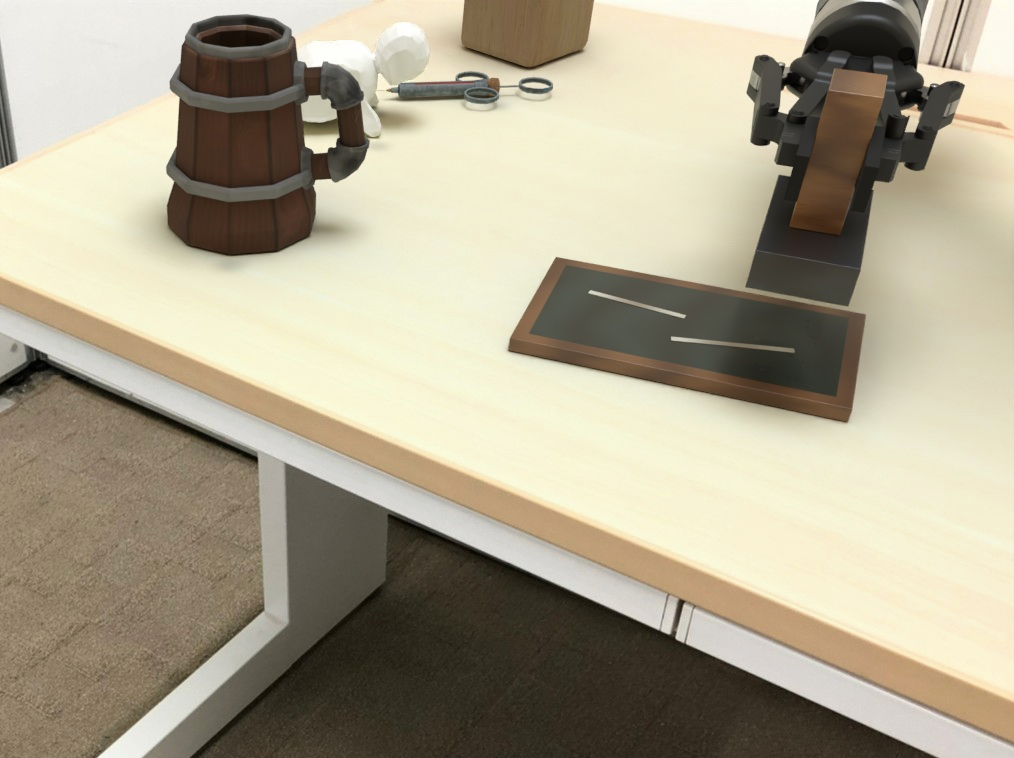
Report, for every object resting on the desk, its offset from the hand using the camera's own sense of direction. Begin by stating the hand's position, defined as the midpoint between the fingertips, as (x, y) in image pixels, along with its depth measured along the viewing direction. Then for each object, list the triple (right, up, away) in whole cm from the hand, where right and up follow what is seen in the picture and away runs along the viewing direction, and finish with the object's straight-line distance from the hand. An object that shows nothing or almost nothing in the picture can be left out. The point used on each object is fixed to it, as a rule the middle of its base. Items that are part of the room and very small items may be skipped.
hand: (830, 184), depth 71 cm
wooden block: (-6, +32, +61) cm, 69 cm away
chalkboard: (-3, -6, +15) cm, 17 cm away
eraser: (+2, -2, +8) cm, 9 cm away
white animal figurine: (-25, +19, +46) cm, 56 cm away
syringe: (-14, +23, +50) cm, 57 cm away
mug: (-32, +5, +29) cm, 44 cm away
